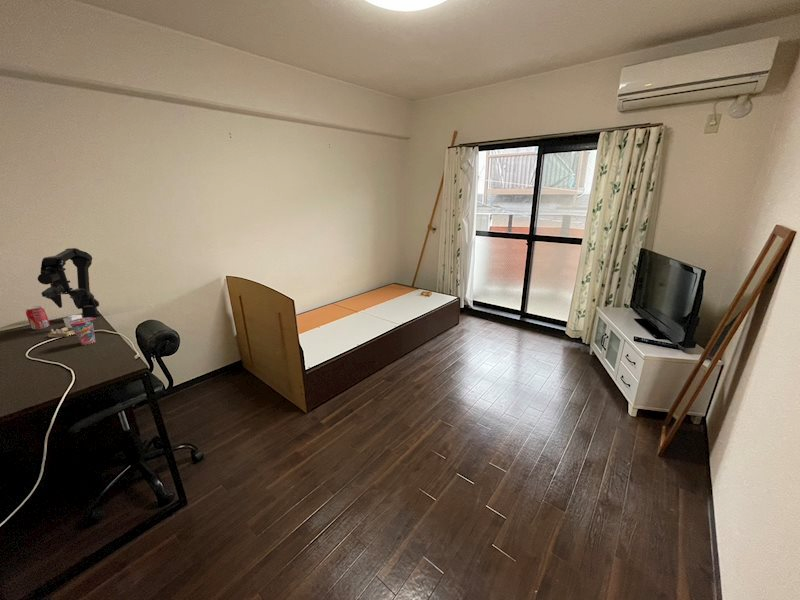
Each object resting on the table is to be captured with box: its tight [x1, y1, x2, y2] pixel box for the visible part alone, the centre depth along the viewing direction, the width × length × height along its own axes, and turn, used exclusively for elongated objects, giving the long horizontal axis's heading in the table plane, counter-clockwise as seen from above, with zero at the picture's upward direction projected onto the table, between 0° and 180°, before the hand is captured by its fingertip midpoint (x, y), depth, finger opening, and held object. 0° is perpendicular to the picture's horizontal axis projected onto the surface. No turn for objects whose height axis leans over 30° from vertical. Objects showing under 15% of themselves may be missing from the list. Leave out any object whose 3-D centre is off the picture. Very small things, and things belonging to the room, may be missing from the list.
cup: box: [69, 317, 97, 346], centre depth 157 cm, size 9×8×12 cm
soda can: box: [25, 305, 50, 330], centre depth 178 cm, size 7×7×12 cm
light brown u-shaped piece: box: [47, 326, 75, 338], centre depth 170 cm, size 9×9×4 cm
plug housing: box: [62, 314, 83, 329], centre depth 180 cm, size 6×4×6 cm
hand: (69, 307), depth 178 cm, fingers open, 9 cm apart
